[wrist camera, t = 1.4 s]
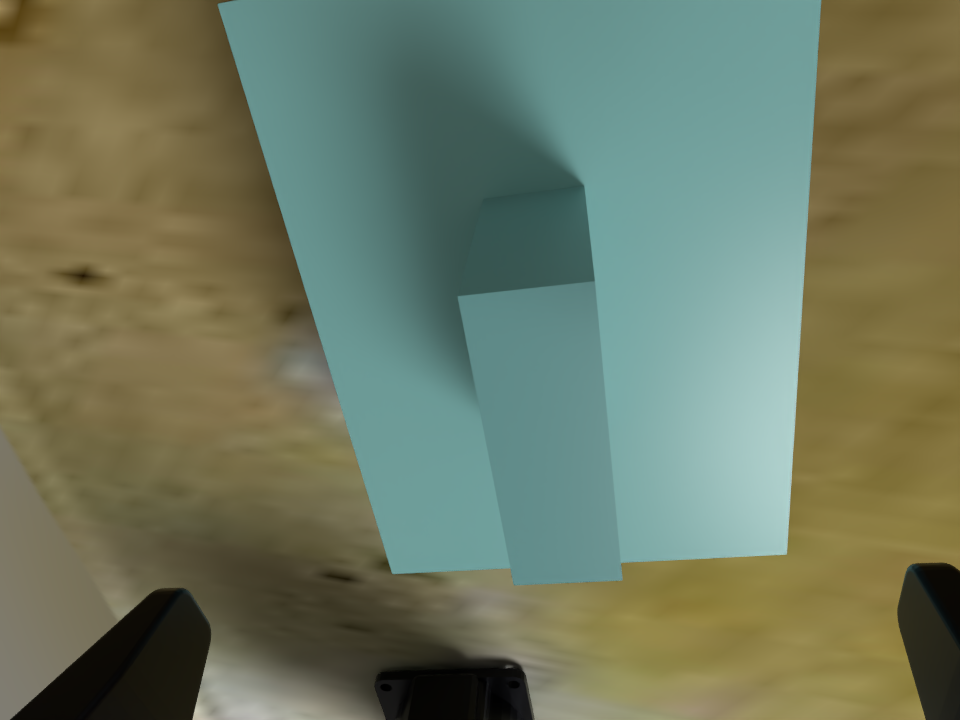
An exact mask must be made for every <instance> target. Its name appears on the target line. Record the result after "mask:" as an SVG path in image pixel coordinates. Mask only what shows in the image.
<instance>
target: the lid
mask: <svg viewBox="0 0 960 720" xmlns="http://www.w3.org/2000/svg"><path fill="white" fill-rule="evenodd" d="M218 7H219V11H220V14H221V17H222V20H223V24H224V27H225V30H226V33H227V37H228V40H229V43H230V47H231V50H232V53H233V56H234V60H235V63H236V66H237V69H238V73H239V76H240V79H241V82H242V86H243V89H244V92H245V95H246V99H247V102H248V105H249V108H250V112H251V115H252V118H253V121H254V125H255V128H256V131H257V134H258V138H259V141H260V144H261V148H262V151H263V154H264V157H265V161H266V164H267V167H268V170H269V174H270V177H271V180H272V183H273V187H274V190H275V193H276V196H277V200H278V203H279V206H280V209H281V213H282V216H283V219H284V222H285V226H286V229H287V232H288V236H289V239H290V242H291V245H292V249H293V252H294V255H295V258H296V262H297V265H298V268H299V271H300V275H301V278H302V281H303V284H304V288H305V291H306V294H307V297H308V301H309V304H310V307H311V310H312V314H313V317H314V320H315V323H316V327H317V330H318V333H319V337H320V340H321V343H322V346H323V350H324V353H325V356H326V359H327V363H328V366H329V369H330V372H331V376H332V379H333V382H334V385H335V389H336V392H337V395H338V398H339V402H340V405H341V408H342V411H343V415H344V418H345V421H346V424H347V428H348V431H349V434H350V438H351V441H352V444H353V447H354V451H355V454H356V457H357V460H358V464H359V467H360V470H361V473H362V477H363V480H364V483H365V486H366V490H367V493H368V496H369V499H370V503H371V506H372V509H373V512H374V516H375V519H376V522H377V526H378V529H379V532H380V535H381V539H382V542H383V545H384V548H385V552H386V555H387V558H388V561H389V565H390V568H391V571H392V574H403V573H423V572H443V571H463V570H483V569H503V568H511V573H512V578H513V584H514V585H532V584H553V583H575V582H597V581H619V580H622V571H621V563H624V562H644V561H664V560H684V559H705V558H725V557H745V556H765V555H785V554H787V542H788V526H789V509H790V493H791V477H792V461H793V445H794V429H795V413H796V397H797V380H798V364H799V348H800V332H801V316H802V300H803V284H804V268H805V251H806V235H807V219H808V203H809V187H810V171H811V155H812V139H813V122H814V106H815V90H816V74H817V58H818V42H819V26H820V10H821V0H233V1H228V2H224V3H219V4H218Z"/></svg>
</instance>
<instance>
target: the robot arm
mask: <svg viewBox="0 0 960 720" xmlns="http://www.w3.org/2000/svg"><path fill="white" fill-rule="evenodd" d="M897 615H898V623H899V628H900V632H901V635H902V639H903V642H904V646H905V649H906V653H907V656H908V660H909V663H910V666H911V670H912V673H913V677H914V680H915V684H916V687H917V691H918V694H919V698H920V701H921V705H922V708H923V712H924V715H925V718H926V720H960V571H959V570H958V569H957V568H955V567H954V566H952V565H950V564H947V563H916V564H912V565H910V566H909V567H908V568H907V571H906V574H905V578H904V582H903V587H902V591H901V595H900V600H899V604H898V611H897ZM210 641H211V628H210V624H209V622H208V620H207V619H206V617H205V615H204V614H203V612H202V610H201V609H200V607H199V606H198V604H197V602H196V601H195V599H194V598H193V596H192V594H191V593H190V592H189V591H188V590H186V589H184V588H162V589H158V590H155V591H154V592H152V593H151V594H149V595H148V596H147V597H146V598H145V599H144V600H143V601H141V602H140V603H139V604H138V605H137V606H136V607H135V608H134V609H133V610H131V611H130V612H129V613H128V614H127V615H126V616H125V617H124V618H123V619H121V620H120V621H119V622H118V623H117V624H116V625H115V626H114V627H113V628H111V630H109V631H108V632H107V633H106V634H105V635H104V636H103V637H101V638H100V639H99V640H98V641H97V642H96V643H95V644H94V645H93V646H91V647H90V648H89V649H88V650H87V651H86V652H85V653H84V654H83V655H82V656H80V657H79V658H78V659H77V660H76V661H75V662H74V663H73V664H72V665H70V666H69V667H68V668H67V669H66V670H65V671H64V672H63V673H61V674H60V675H59V676H58V677H57V678H56V679H55V680H54V681H53V682H51V683H50V684H49V685H48V686H47V687H46V688H45V689H44V690H43V691H42V692H40V693H39V694H38V695H37V696H36V697H35V698H34V699H33V700H31V702H29V703H28V704H27V705H26V706H25V707H24V708H23V709H21V710H20V711H19V712H18V713H17V714H16V715H15V716H14V717H13V718H12V719H10V720H192V719H193V715H194V710H195V706H196V702H197V697H198V693H199V689H200V685H201V680H202V676H203V672H204V668H205V663H206V659H207V655H208V650H209V646H210ZM375 690H376V693H377V695H378V698H379V701H380V704H381V706H382V709H383V712H384V715H385V717H386V720H535V719H534V714H533V709H532V704H531V699H530V694H529V689H528V684H527V679H526V675H525V673H524V672H523V671H521V670H519V669H514V668H507V669H472V670H436V671H400V672H382V673H380V674H378V675H377V677H376V681H375Z"/></svg>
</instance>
